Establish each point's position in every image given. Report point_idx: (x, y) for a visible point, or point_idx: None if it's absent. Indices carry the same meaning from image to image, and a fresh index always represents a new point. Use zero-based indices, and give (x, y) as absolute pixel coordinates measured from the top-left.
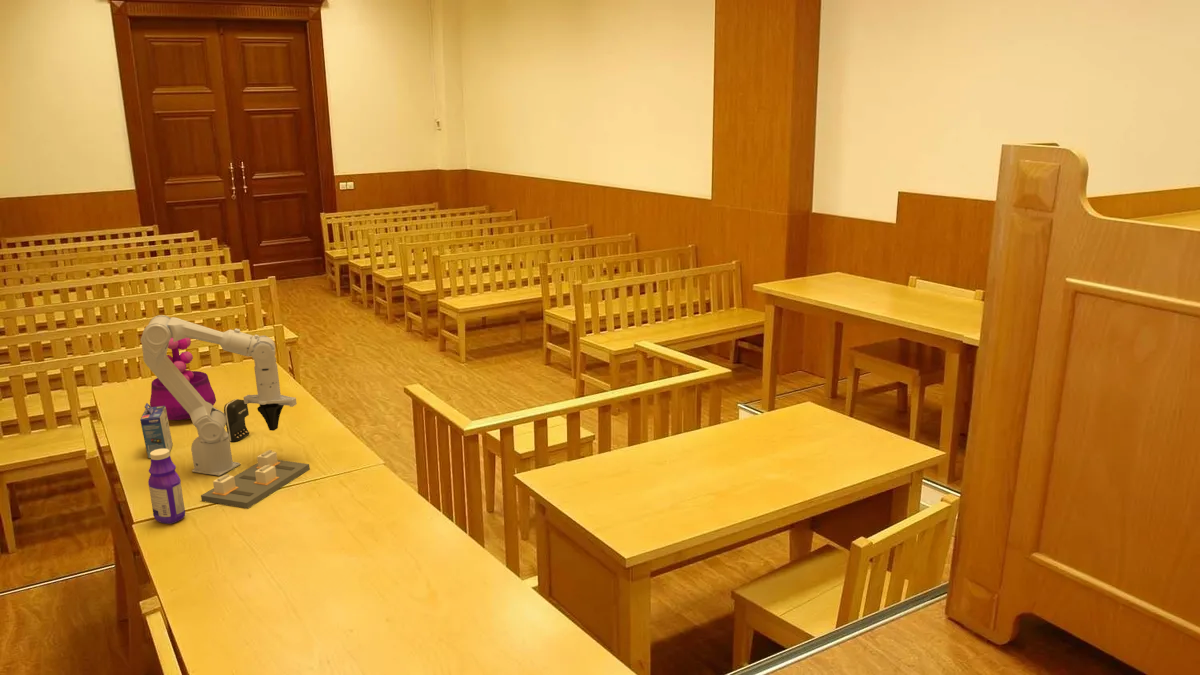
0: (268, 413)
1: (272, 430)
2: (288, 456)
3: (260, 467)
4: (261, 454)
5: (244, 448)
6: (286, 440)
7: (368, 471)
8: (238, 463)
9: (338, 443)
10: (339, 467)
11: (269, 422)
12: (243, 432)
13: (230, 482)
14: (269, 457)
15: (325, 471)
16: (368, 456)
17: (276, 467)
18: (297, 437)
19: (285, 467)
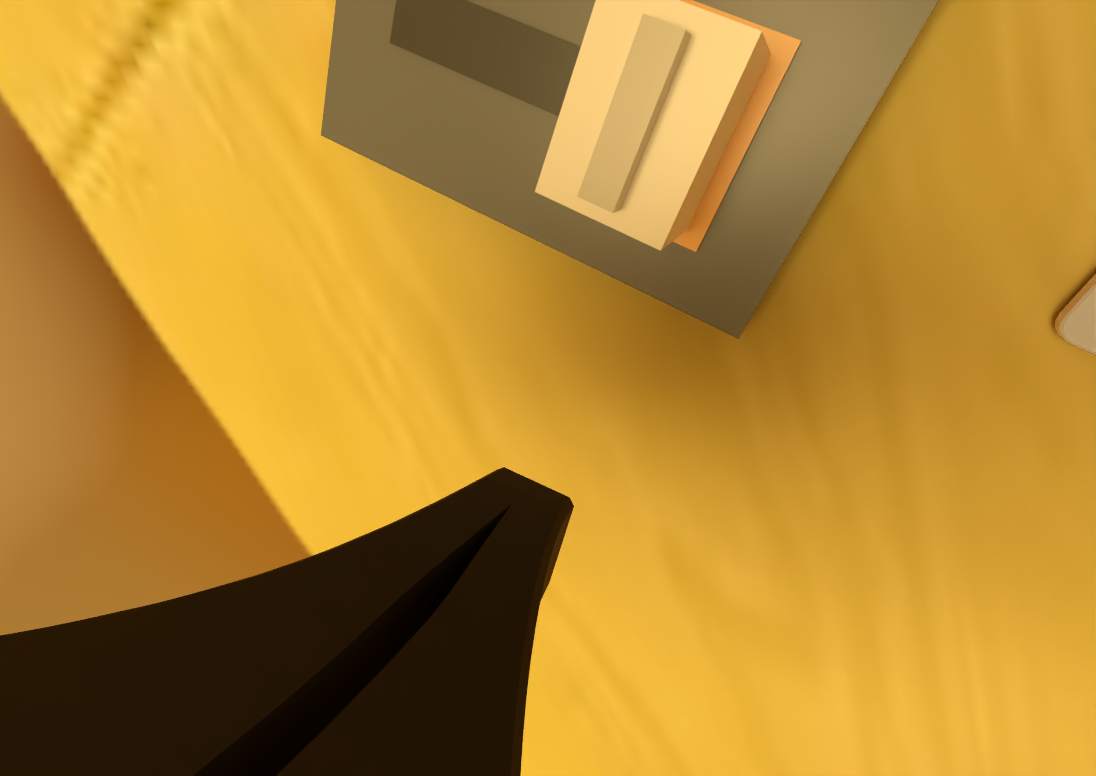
0: (191, 718)
1: (518, 474)
2: (590, 427)
3: None
4: (682, 33)
5: (1036, 709)
6: (681, 705)
7: (37, 73)
8: (1084, 321)
9: None
10: (198, 157)
11: (468, 573)
12: None
13: None
14: (587, 48)
15: (242, 85)
16: (145, 313)
17: (560, 48)
18: (619, 717)
19: (473, 46)
